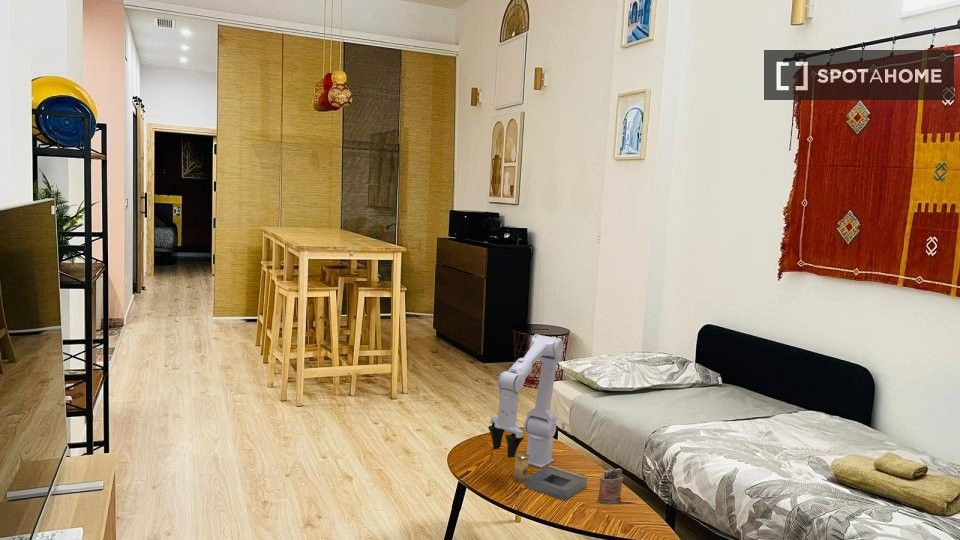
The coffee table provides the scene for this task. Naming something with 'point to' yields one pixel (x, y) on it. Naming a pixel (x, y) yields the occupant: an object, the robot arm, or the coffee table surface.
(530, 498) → the coffee table surface
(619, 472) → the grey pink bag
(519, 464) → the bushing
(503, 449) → the coffee table surface
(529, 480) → the jig
